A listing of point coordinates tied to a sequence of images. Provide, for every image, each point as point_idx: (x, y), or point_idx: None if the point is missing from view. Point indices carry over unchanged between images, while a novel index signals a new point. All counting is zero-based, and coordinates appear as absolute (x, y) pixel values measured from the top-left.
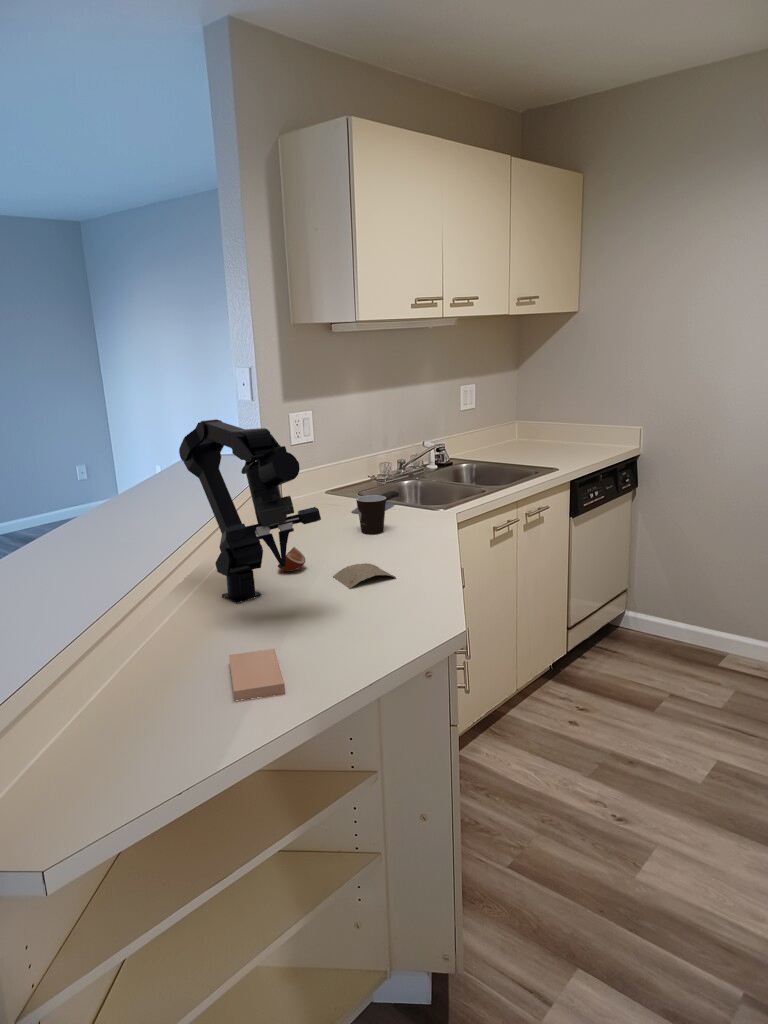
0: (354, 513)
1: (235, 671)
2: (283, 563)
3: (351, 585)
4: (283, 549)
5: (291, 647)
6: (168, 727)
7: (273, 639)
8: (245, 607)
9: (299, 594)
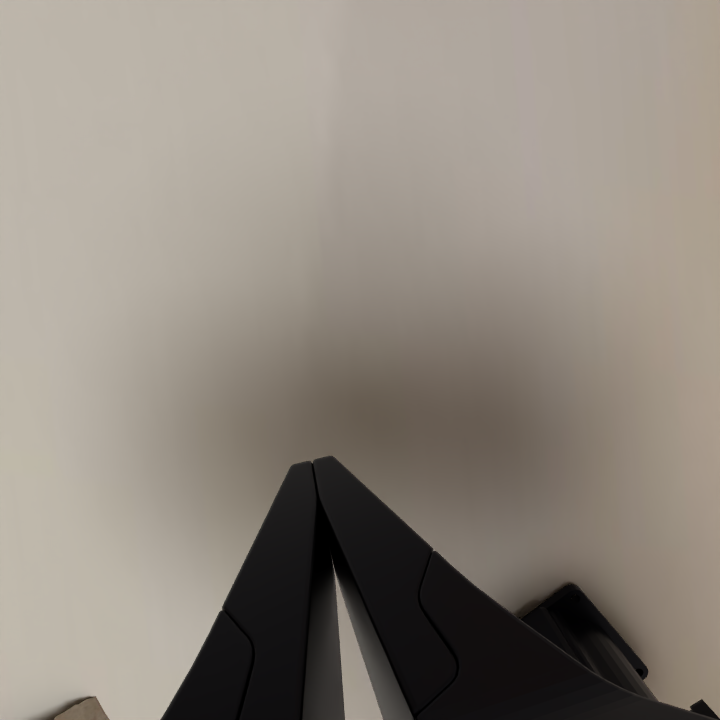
0: None
1: None
2: (304, 474)
3: (79, 717)
4: (266, 601)
5: (287, 51)
6: None
7: (376, 156)
8: (530, 537)
9: None
